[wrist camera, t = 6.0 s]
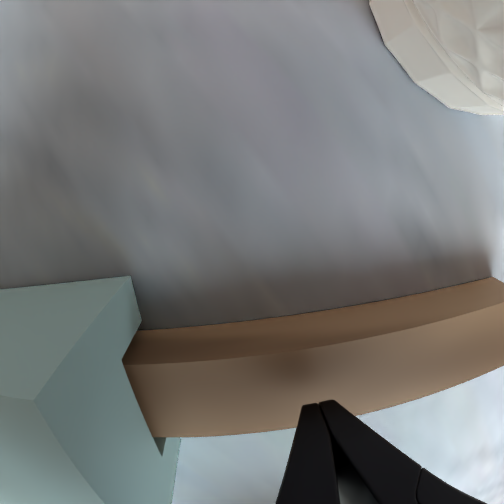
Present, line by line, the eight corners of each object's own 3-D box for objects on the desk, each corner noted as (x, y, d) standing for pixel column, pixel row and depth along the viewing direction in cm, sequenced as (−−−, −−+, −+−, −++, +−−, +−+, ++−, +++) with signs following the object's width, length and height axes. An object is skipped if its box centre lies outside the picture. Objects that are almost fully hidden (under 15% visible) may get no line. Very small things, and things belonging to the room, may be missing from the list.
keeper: (180, 439, 11) (164, 563, 6) (42, 428, 11) (-5, 515, 5) (130, 275, 9) (33, 400, 4) (-22, 291, 9) (-117, 362, 4)
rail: (473, 368, 11) (560, 464, 5) (5, 411, 11) (-55, 504, 4) (496, 240, 10) (637, 309, 3) (-45, 302, 9) (-144, 381, 3)
